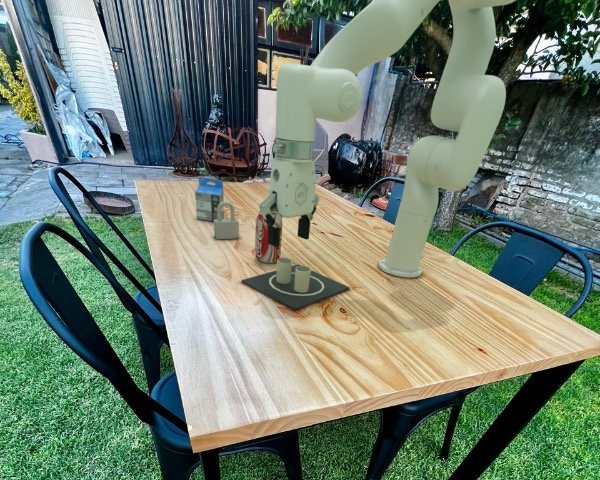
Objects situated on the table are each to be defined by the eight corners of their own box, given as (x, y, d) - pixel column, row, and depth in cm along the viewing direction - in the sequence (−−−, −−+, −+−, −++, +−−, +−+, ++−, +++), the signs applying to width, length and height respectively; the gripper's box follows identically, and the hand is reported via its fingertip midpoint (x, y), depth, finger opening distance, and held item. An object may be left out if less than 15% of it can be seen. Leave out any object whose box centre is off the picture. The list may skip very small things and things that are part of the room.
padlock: (235, 235, 111) (234, 199, 104) (239, 239, 108) (239, 203, 102) (213, 236, 108) (211, 200, 101) (217, 240, 105) (216, 203, 99)
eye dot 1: (283, 276, 87) (284, 256, 84) (293, 281, 86) (295, 261, 82) (273, 279, 85) (274, 259, 82) (283, 285, 84) (284, 264, 80)
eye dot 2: (300, 285, 85) (302, 264, 81) (311, 290, 83) (314, 269, 80) (290, 288, 82) (292, 267, 79) (301, 294, 81) (303, 272, 77)
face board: (297, 266, 96) (298, 263, 95) (349, 289, 87) (349, 286, 87) (241, 282, 84) (241, 279, 83) (294, 310, 75) (294, 307, 75)
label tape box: (196, 219, 120) (192, 177, 112) (201, 216, 123) (198, 176, 115) (220, 223, 119) (218, 181, 111) (224, 220, 122) (223, 180, 114)
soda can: (276, 266, 94) (279, 218, 86) (251, 261, 95) (252, 213, 87) (282, 258, 99) (286, 212, 92) (259, 253, 100) (260, 207, 92)
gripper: (275, 155, 62) (272, 253, 73) (335, 153, 72) (325, 239, 83) (248, 148, 65) (249, 243, 76) (309, 147, 75) (302, 231, 87)
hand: (288, 241), depth 80 cm, fingers open, 9 cm apart
